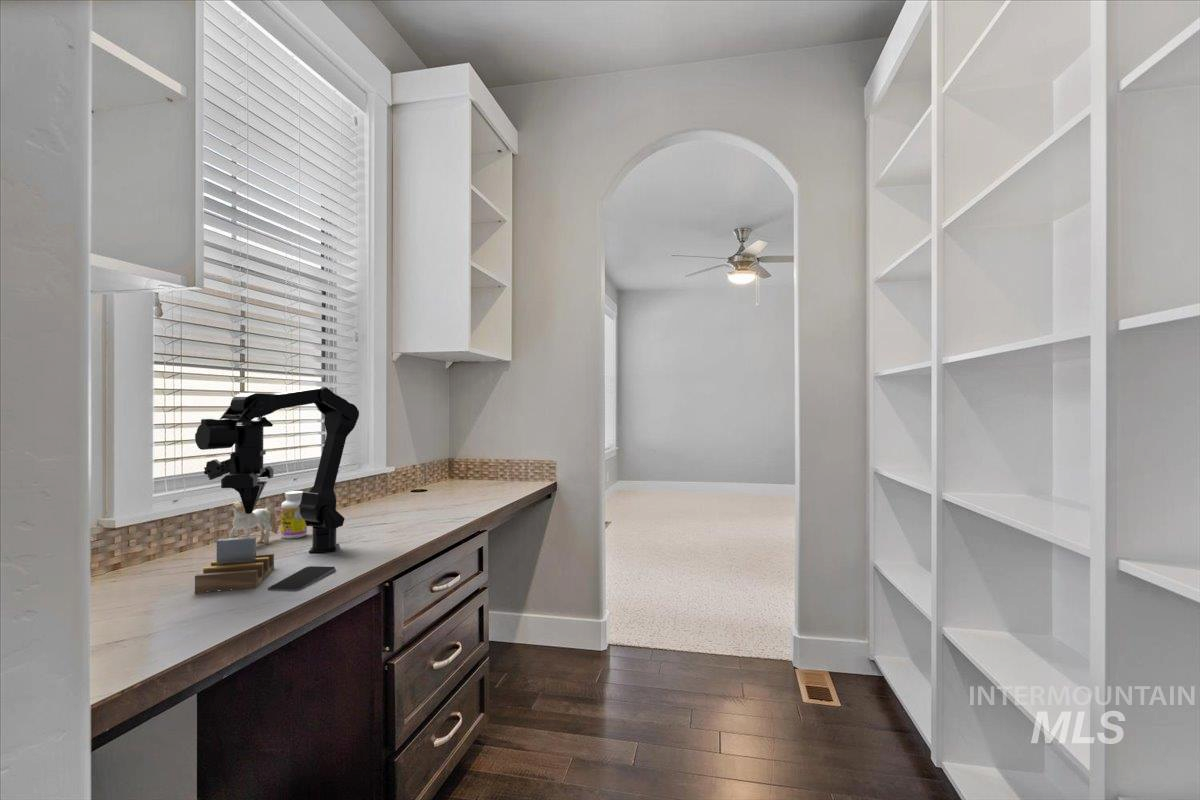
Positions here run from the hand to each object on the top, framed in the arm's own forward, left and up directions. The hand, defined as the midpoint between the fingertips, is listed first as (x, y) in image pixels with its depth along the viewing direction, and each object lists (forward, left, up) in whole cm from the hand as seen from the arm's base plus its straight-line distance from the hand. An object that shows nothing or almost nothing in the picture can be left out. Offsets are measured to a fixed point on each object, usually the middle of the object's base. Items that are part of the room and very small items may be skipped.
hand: (248, 513), depth 133 cm
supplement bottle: (-33, +3, -13) cm, 36 cm away
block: (+8, 0, -12) cm, 15 cm away
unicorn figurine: (-21, -3, -13) cm, 25 cm away
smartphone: (+12, +14, -14) cm, 23 cm away
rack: (+8, 0, -13) cm, 15 cm away
